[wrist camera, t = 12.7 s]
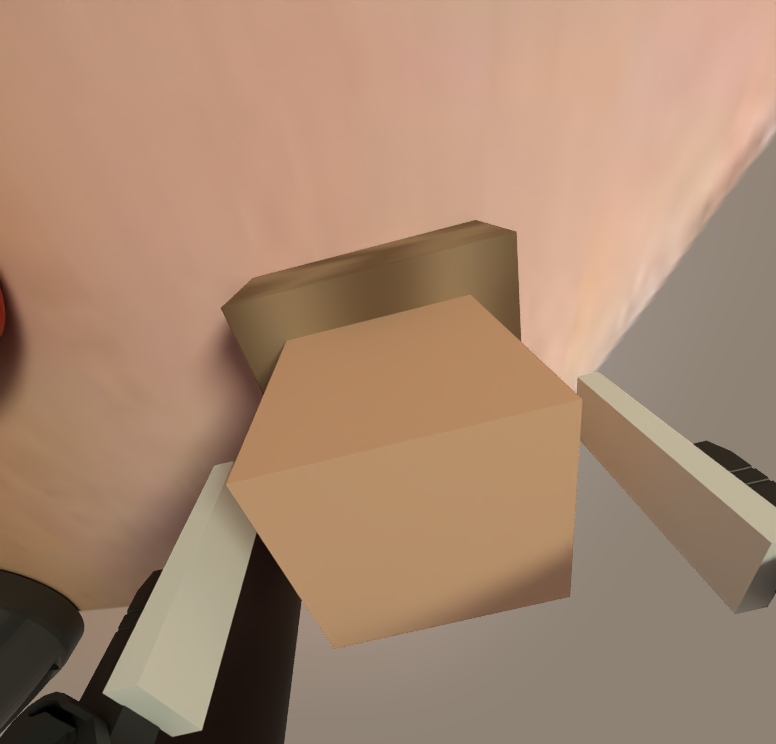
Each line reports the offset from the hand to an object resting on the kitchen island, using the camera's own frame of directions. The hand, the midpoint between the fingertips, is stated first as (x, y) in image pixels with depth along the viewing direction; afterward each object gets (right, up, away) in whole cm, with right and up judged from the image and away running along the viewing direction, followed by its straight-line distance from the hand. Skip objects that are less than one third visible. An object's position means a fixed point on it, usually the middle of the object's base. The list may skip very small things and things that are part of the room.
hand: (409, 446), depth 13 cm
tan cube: (0, +2, +3) cm, 4 cm away
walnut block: (-1, +4, +8) cm, 9 cm away
